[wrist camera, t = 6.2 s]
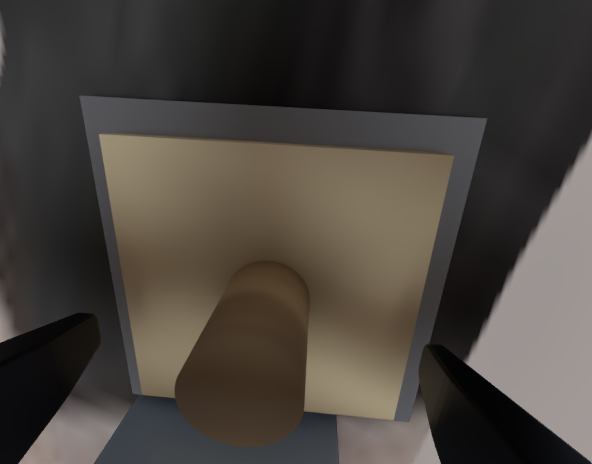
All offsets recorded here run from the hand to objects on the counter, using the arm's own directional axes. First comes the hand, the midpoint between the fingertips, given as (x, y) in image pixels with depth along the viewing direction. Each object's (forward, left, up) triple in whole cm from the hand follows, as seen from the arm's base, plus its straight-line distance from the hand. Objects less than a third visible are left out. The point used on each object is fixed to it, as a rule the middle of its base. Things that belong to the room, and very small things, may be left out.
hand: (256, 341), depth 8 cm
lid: (0, 0, -3) cm, 3 cm away
